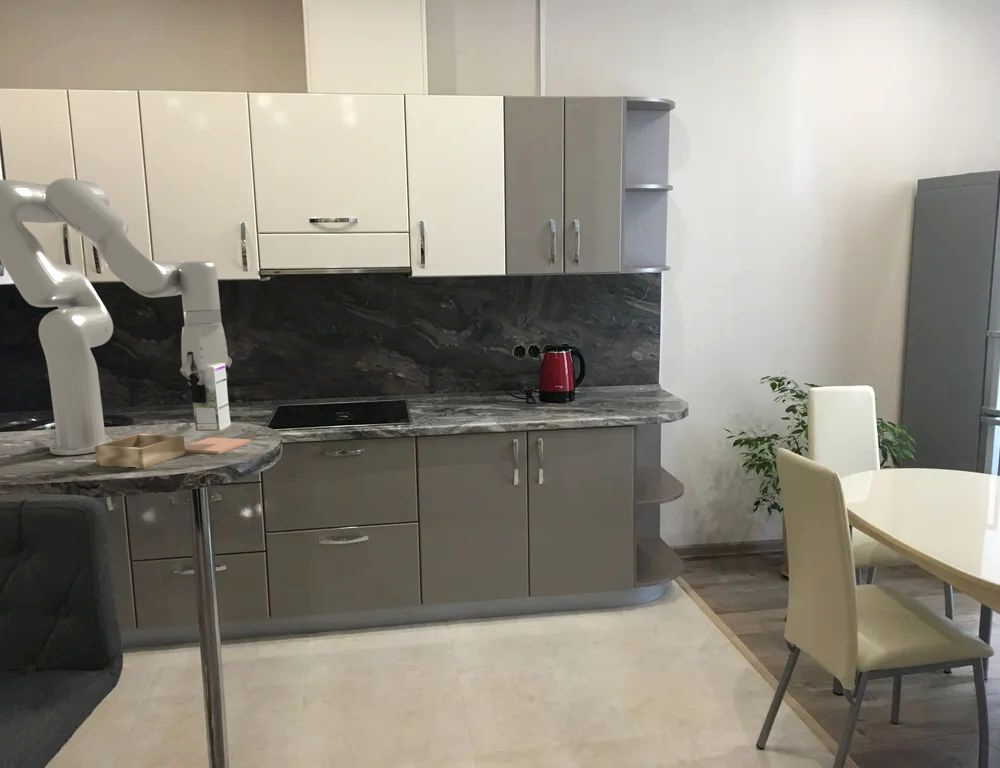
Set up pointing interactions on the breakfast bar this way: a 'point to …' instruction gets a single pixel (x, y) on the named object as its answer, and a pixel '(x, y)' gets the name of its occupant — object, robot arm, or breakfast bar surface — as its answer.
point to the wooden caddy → (140, 450)
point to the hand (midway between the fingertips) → (210, 399)
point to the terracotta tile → (215, 445)
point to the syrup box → (213, 401)
